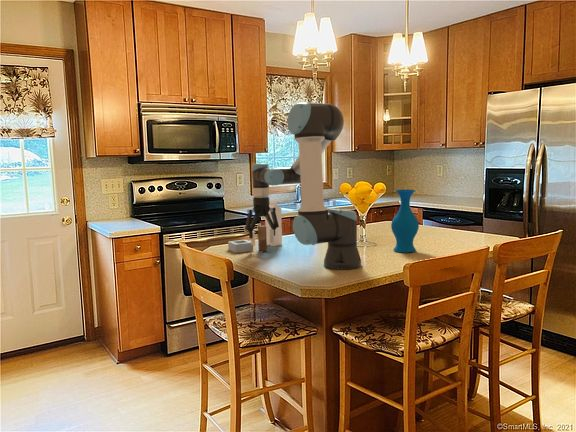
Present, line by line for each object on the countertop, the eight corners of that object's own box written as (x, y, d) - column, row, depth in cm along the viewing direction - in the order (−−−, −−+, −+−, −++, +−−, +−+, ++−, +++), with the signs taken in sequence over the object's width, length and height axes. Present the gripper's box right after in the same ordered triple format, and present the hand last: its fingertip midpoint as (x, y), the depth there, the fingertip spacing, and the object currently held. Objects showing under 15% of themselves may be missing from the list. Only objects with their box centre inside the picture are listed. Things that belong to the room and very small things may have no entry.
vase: (423, 250, 217) (424, 190, 213) (408, 255, 208) (409, 192, 204) (401, 247, 225) (401, 188, 222) (385, 251, 217) (386, 190, 213)
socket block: (253, 250, 225) (253, 242, 224) (236, 252, 220) (235, 244, 220) (245, 247, 232) (245, 239, 232) (228, 249, 228) (228, 241, 227)
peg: (268, 251, 222) (267, 226, 220) (260, 252, 220) (260, 227, 218) (264, 250, 225) (263, 225, 224) (257, 251, 223) (256, 226, 222)
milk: (272, 246, 234) (271, 202, 231) (265, 244, 239) (264, 201, 236) (282, 244, 238) (281, 201, 234) (275, 243, 242) (274, 200, 239)
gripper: (278, 194, 228) (279, 240, 231) (236, 197, 217) (237, 245, 220) (285, 195, 221) (286, 242, 224) (243, 198, 211) (244, 247, 214)
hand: (262, 243), depth 222 cm, fingers open, 9 cm apart
